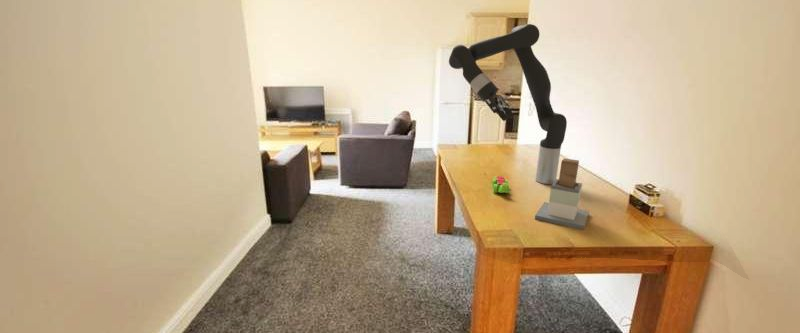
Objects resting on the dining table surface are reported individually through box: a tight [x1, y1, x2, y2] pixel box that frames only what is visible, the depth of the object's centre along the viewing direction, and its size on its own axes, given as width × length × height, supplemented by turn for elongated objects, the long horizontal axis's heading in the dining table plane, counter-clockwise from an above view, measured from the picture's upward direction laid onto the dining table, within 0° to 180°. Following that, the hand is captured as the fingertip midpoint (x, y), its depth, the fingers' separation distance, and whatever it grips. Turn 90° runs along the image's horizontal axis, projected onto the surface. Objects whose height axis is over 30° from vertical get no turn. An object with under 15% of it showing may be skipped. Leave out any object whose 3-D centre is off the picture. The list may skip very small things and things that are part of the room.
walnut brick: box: [558, 158, 580, 188], centre depth 128 cm, size 5×5×10 cm
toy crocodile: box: [491, 175, 510, 194], centre depth 160 cm, size 20×7×6 cm, turn 170°
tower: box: [534, 178, 590, 231], centre depth 131 cm, size 16×16×13 cm
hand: (509, 118), depth 141 cm, fingers open, 8 cm apart
